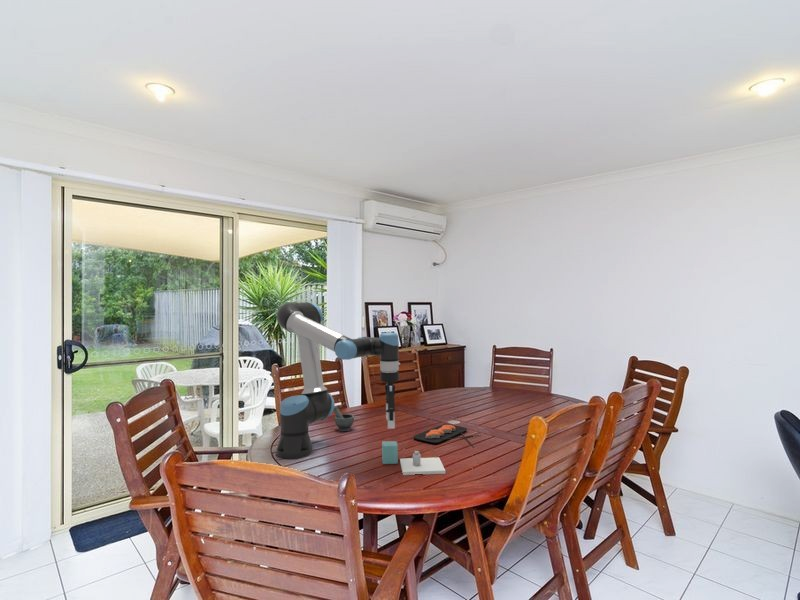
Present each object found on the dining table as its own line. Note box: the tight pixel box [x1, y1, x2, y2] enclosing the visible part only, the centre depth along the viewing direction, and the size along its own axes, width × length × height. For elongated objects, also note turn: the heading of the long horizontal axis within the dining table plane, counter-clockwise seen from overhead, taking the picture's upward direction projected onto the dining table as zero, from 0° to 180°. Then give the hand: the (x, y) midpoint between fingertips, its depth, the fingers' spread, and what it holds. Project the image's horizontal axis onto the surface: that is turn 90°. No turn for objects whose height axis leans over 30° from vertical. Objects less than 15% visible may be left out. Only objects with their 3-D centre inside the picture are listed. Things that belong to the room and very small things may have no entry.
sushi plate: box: [412, 423, 480, 449], centre depth 209 cm, size 29×30×4 cm
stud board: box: [399, 450, 446, 476], centre depth 173 cm, size 16×14×6 cm
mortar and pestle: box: [333, 405, 355, 432], centre depth 223 cm, size 11×9×12 cm
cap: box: [381, 440, 399, 465], centre depth 180 cm, size 6×6×7 cm
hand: (390, 423), depth 180 cm, fingers open, 13 cm apart
